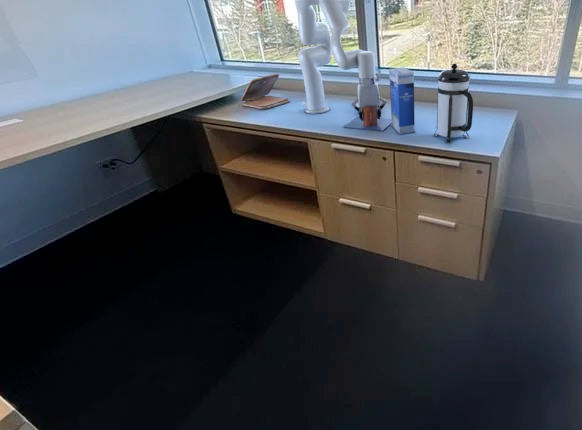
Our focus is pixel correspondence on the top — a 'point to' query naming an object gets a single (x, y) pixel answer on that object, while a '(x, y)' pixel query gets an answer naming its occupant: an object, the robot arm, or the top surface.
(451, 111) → the coffee press
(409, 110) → the string lights box
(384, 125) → the blue rectangular mat
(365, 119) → the mug
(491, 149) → the top surface
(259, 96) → the case
